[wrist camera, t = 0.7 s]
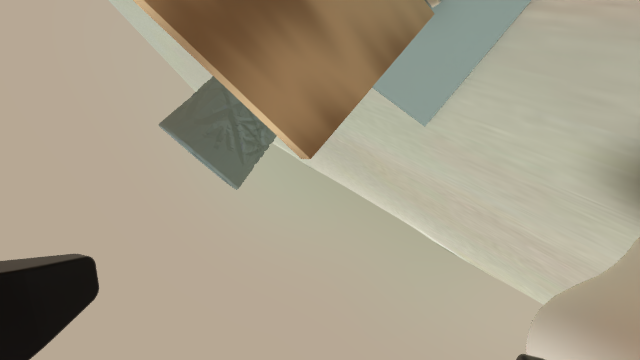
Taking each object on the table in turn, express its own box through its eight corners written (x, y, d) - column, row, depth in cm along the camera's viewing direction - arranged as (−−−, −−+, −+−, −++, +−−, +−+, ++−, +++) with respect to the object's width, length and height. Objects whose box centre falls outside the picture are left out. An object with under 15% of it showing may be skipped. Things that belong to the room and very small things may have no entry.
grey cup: (230, 51, 42) (157, 125, 40) (250, 30, 33) (157, 125, 31) (289, 112, 46) (226, 183, 44) (322, 109, 37) (244, 198, 35)
